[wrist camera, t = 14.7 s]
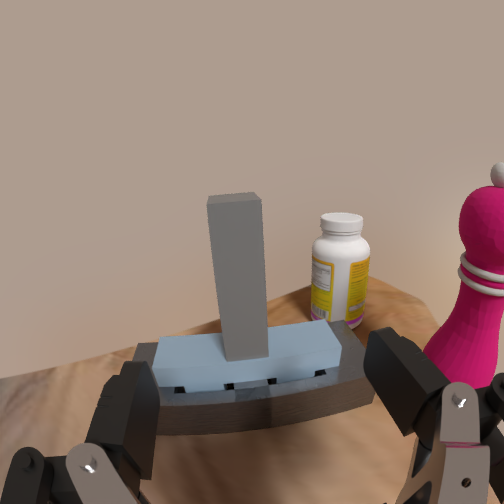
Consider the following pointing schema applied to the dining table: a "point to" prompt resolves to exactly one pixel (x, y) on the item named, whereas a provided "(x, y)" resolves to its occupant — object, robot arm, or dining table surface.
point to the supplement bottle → (340, 270)
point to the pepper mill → (476, 291)
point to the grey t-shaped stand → (242, 316)
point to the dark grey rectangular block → (266, 395)
